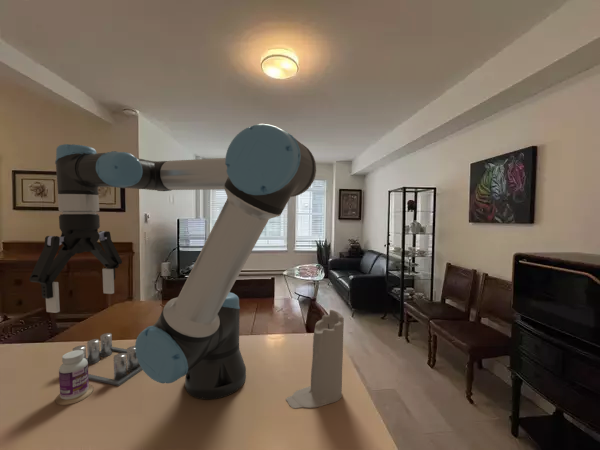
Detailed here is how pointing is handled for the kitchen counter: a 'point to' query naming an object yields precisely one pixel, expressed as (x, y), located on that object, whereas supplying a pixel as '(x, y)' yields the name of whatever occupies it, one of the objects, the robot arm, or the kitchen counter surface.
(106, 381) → the parts tray rim
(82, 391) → the pill bottle
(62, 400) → the cork coaster
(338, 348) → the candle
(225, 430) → the kitchen counter surface
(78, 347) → the spacers
